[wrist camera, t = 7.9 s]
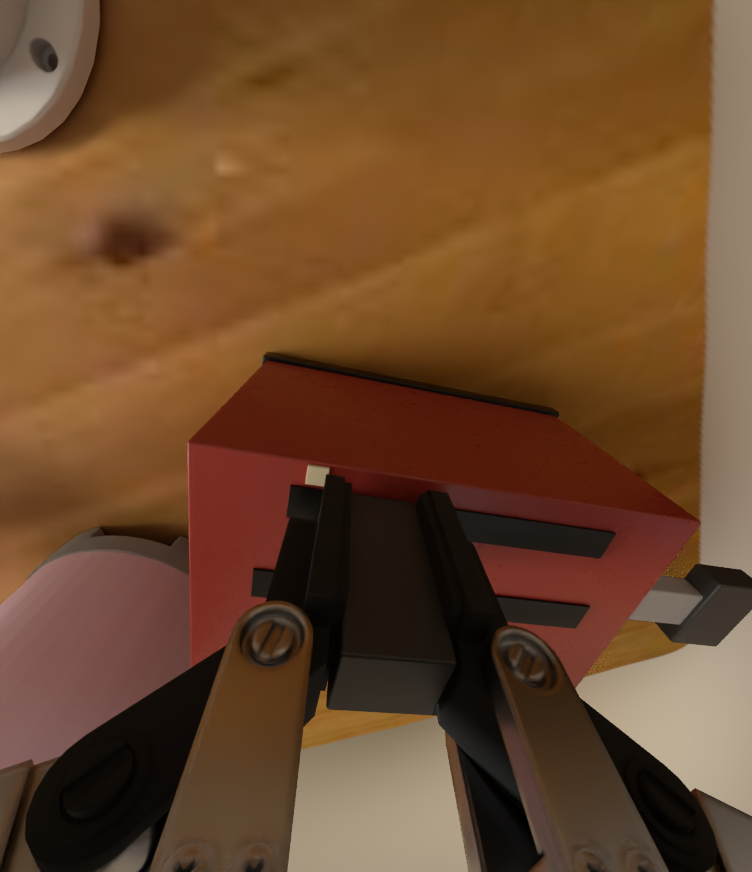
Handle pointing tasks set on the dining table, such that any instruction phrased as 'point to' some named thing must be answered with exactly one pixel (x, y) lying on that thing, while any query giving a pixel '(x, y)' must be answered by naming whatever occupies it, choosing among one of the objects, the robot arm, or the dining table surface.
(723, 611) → the bread lever
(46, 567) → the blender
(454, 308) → the dining table surface
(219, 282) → the dining table surface
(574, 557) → the toaster
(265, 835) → the robot arm
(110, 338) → the dining table surface
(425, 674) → the browning slider
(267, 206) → the dining table surface
